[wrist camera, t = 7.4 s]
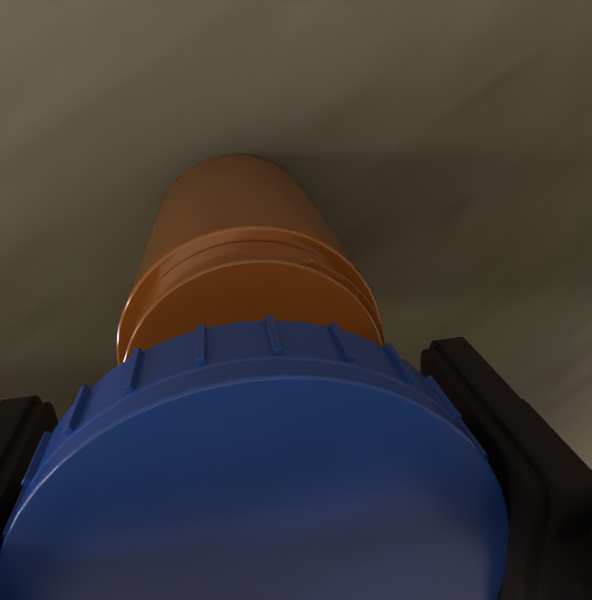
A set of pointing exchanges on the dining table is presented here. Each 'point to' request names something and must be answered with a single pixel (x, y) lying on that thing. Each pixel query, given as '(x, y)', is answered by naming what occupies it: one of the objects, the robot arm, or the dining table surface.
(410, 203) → the dining table surface
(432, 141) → the dining table surface
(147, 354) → the lid
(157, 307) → the jar
